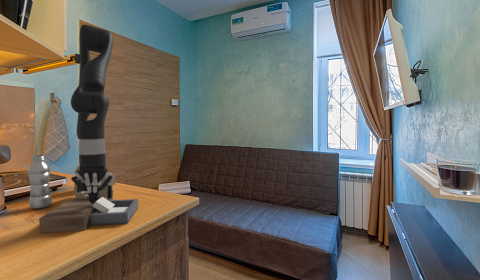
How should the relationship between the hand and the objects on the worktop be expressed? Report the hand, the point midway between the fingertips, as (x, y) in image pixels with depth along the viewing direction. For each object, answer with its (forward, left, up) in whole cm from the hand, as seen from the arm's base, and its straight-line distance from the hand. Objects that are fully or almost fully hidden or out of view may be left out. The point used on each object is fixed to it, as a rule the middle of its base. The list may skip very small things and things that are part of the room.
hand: (94, 202), depth 78 cm
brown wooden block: (0, -5, -6) cm, 8 cm away
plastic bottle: (-14, -24, -6) cm, 29 cm away
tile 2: (0, +7, -3) cm, 8 cm away
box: (-1, +7, -6) cm, 9 cm away
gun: (-18, -7, -6) cm, 21 cm away
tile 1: (0, +3, -2) cm, 3 cm away
